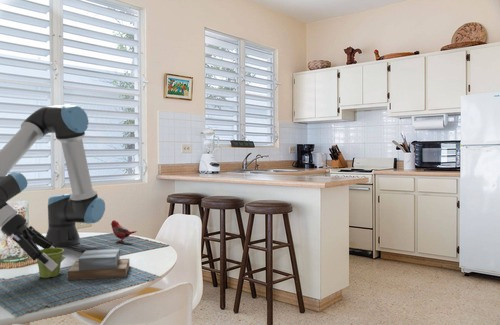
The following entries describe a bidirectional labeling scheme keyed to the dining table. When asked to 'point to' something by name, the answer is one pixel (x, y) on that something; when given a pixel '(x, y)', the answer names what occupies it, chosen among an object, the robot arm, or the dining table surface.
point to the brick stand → (99, 265)
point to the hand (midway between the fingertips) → (59, 264)
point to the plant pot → (56, 257)
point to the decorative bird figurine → (120, 231)
